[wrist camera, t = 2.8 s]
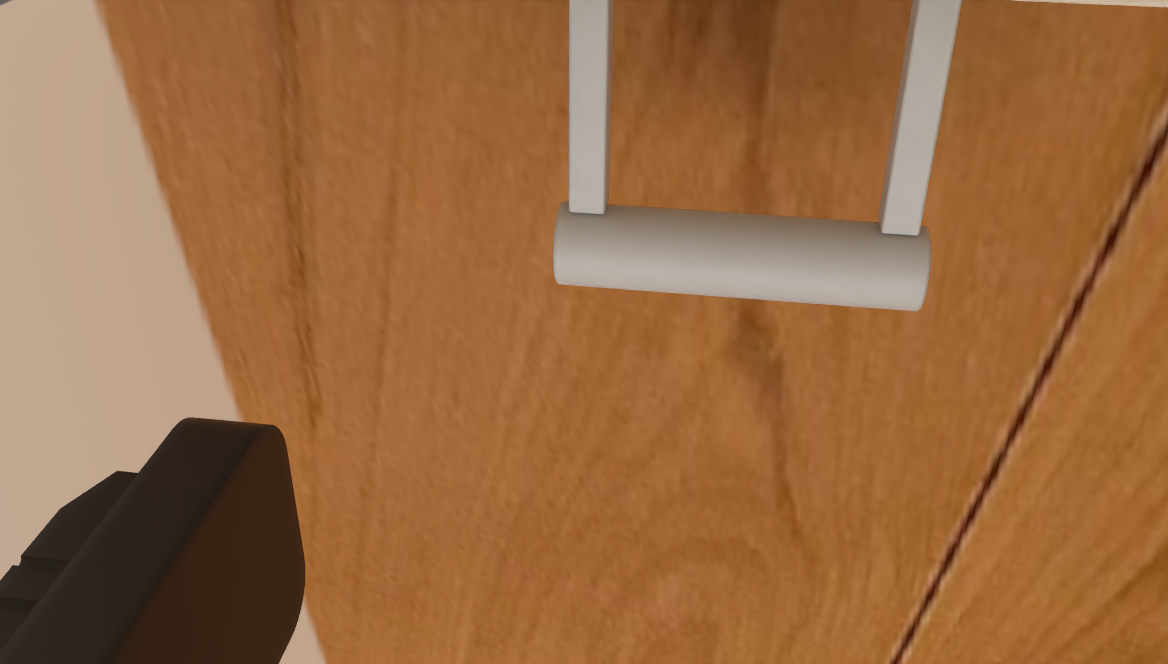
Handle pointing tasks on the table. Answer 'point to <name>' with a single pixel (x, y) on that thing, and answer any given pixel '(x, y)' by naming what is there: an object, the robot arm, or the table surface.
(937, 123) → the drawer
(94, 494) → the robot arm
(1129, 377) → the table surface
